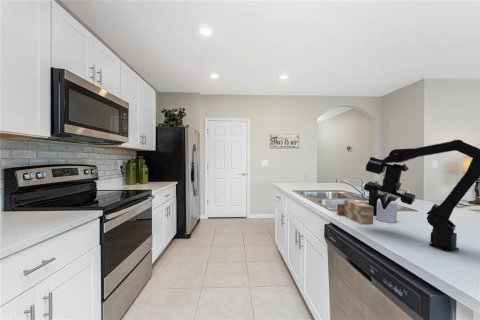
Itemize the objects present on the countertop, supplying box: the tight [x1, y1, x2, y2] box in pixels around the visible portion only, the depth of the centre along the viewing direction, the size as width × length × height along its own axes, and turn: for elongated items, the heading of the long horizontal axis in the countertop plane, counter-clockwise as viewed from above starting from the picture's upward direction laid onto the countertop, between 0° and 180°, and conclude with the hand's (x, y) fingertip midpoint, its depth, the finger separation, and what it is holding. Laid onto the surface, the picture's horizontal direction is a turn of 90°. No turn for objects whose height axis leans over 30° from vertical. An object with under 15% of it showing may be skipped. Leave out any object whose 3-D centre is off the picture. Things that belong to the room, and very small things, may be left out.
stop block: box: [336, 203, 345, 217], centre depth 132 cm, size 3×10×6 cm, turn 96°
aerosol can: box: [368, 179, 382, 217], centre depth 134 cm, size 8×8×20 cm
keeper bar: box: [343, 199, 374, 225], centre depth 122 cm, size 16×6×9 cm, turn 6°
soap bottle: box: [375, 173, 398, 224], centre depth 122 cm, size 9×9×25 cm
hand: (384, 209), depth 104 cm, fingers closed
